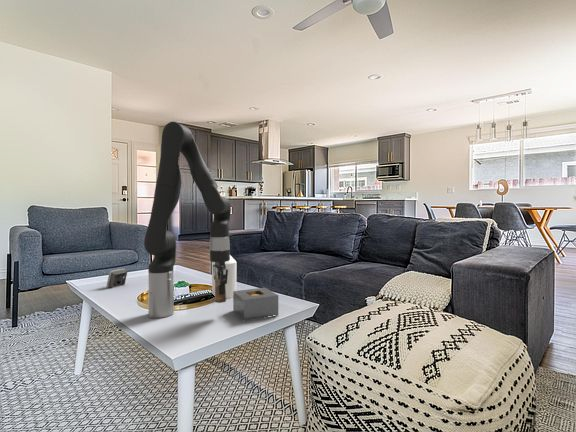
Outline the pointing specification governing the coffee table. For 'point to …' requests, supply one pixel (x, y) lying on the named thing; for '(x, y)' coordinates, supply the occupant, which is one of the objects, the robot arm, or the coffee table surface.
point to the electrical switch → (116, 278)
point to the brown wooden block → (218, 297)
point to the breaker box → (255, 303)
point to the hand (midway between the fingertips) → (220, 292)
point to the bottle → (231, 278)
